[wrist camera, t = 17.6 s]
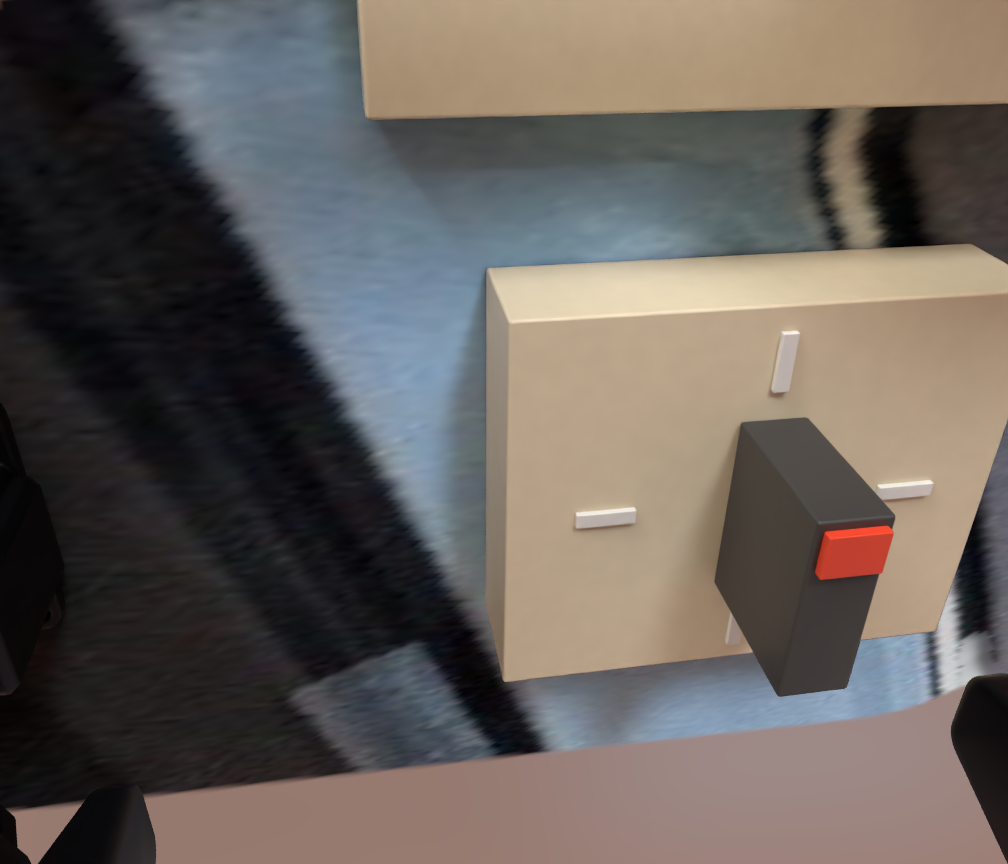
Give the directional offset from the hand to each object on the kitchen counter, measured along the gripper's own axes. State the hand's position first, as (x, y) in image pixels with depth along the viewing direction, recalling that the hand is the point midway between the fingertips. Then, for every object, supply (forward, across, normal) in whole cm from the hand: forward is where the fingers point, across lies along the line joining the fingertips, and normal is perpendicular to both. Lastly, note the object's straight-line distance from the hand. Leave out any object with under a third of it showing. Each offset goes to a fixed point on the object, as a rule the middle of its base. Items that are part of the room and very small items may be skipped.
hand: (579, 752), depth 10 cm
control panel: (+13, -7, +4) cm, 15 cm away
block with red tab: (+10, -7, +4) cm, 13 cm away
